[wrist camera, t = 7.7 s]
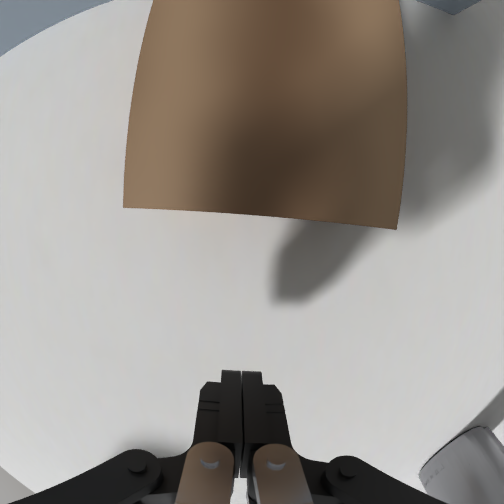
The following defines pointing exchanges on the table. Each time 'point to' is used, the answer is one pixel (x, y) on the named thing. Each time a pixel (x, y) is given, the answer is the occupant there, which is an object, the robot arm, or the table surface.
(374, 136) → the block
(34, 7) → the board
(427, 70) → the table surface
